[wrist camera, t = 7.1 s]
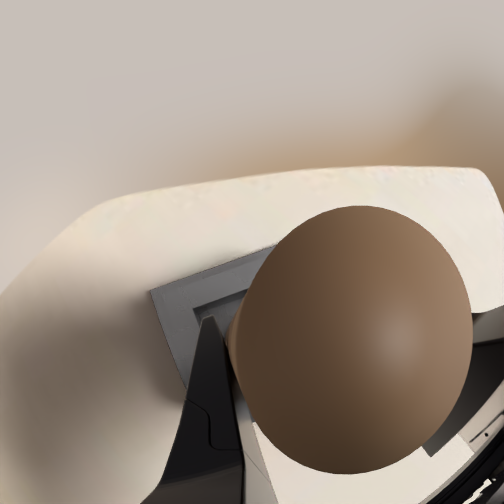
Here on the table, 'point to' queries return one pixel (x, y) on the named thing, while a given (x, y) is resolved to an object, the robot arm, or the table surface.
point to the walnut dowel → (352, 340)
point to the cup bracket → (203, 305)
